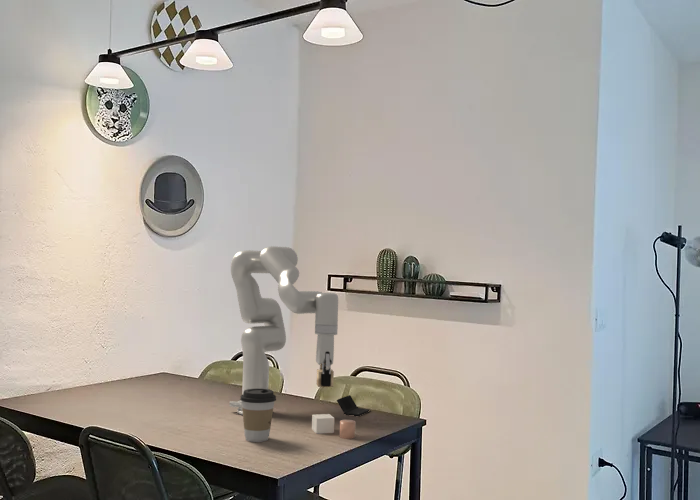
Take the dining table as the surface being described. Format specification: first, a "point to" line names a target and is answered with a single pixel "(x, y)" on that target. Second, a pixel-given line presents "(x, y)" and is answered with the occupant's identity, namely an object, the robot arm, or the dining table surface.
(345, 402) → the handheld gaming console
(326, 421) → the white block
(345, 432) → the terracotta cylinder
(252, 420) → the coffee cup
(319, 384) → the maple cube
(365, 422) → the dining table surface
